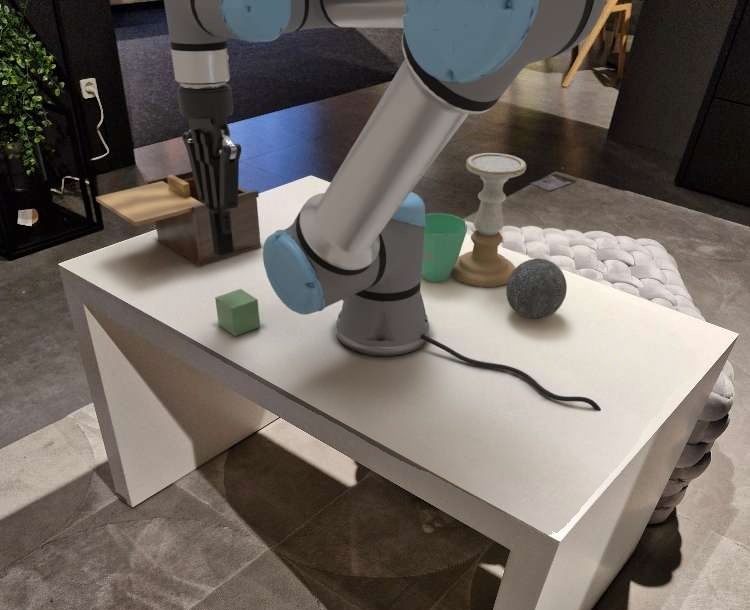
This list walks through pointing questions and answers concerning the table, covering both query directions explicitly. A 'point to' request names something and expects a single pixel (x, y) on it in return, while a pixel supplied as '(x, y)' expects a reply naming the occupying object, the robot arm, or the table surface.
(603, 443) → the table surface
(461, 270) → the candle holder
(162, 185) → the sliding lid
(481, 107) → the robot arm
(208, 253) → the walnut box
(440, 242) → the mug
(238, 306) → the block
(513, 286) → the decorative ball
